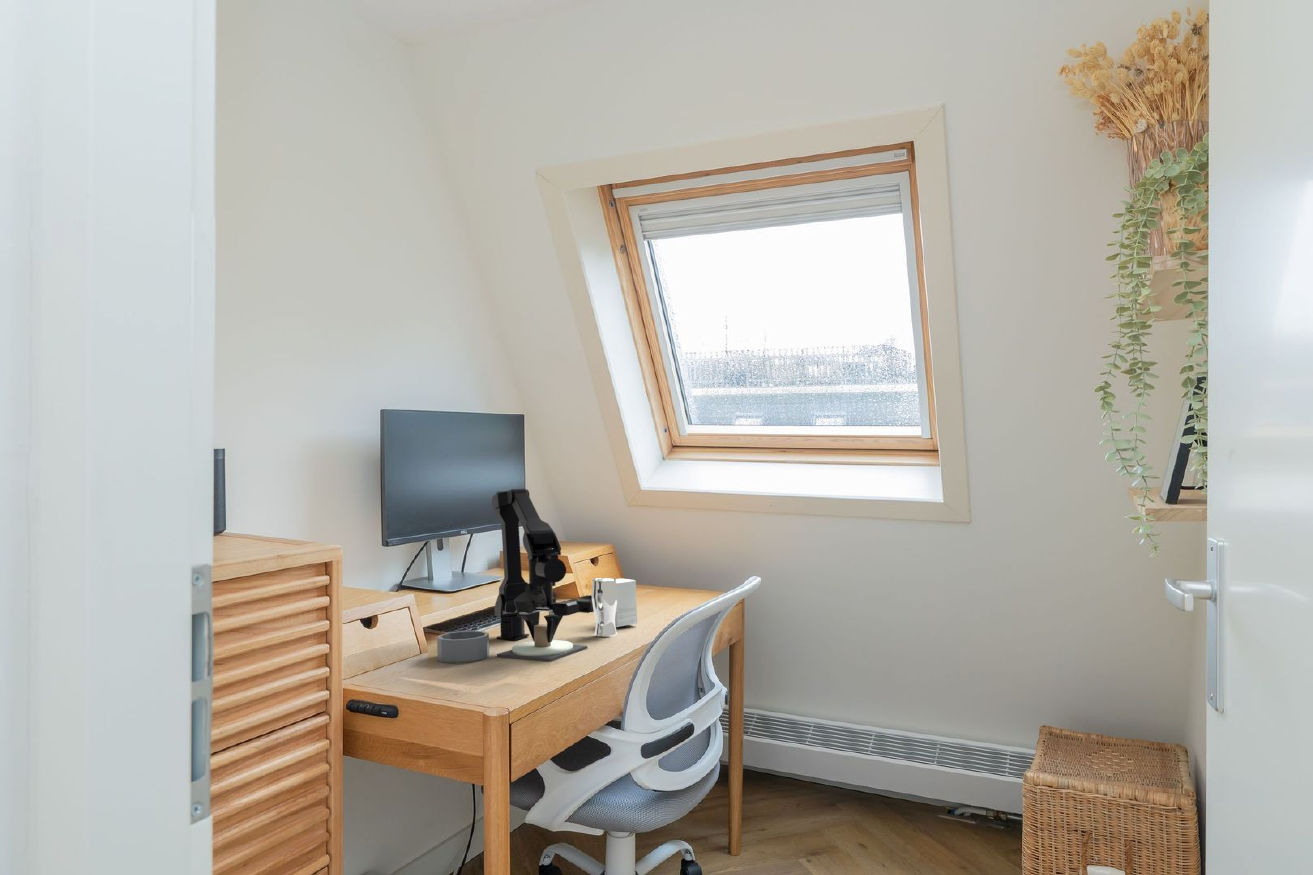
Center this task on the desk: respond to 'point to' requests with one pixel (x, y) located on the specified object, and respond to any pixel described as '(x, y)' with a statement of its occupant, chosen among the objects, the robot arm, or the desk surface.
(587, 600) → the battery charger
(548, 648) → the lid
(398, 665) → the desk surface
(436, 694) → the desk surface
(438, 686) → the desk surface
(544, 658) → the mat
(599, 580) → the beer glass
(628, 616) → the supplement box
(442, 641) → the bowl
